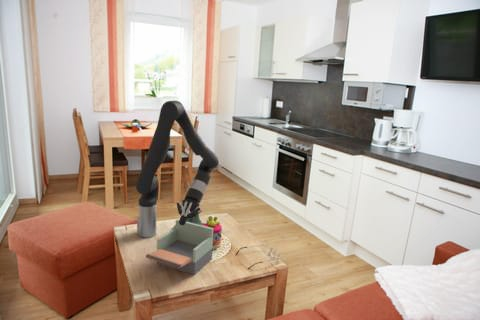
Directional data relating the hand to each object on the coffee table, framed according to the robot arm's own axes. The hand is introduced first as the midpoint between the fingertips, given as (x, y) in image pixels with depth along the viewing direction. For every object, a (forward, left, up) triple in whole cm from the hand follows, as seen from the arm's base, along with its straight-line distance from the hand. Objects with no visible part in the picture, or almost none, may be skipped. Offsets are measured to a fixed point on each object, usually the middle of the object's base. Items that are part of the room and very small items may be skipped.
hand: (181, 224), depth 152 cm
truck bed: (0, +4, -20) cm, 20 cm away
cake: (+3, +24, -20) cm, 32 cm away
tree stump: (-16, +36, -20) cm, 44 cm away
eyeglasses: (+29, +24, -21) cm, 43 cm away
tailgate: (0, -4, -14) cm, 14 cm away
